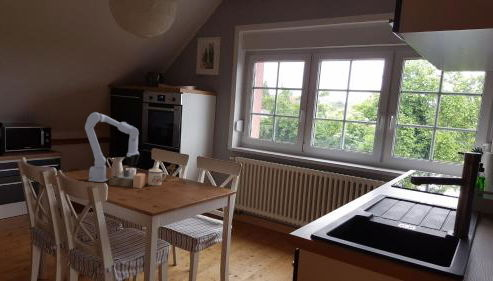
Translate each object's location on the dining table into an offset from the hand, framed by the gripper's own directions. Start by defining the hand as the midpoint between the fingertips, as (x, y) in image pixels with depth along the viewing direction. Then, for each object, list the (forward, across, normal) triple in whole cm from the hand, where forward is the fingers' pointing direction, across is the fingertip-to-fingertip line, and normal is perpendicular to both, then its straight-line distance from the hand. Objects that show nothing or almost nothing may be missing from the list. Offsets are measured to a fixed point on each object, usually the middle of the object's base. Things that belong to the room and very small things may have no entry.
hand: (132, 166), depth 230 cm
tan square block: (+10, -13, -10) cm, 19 cm away
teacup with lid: (+10, -2, -18) cm, 21 cm away
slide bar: (+7, -13, -4) cm, 15 cm away
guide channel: (+10, -13, 0) cm, 16 cm away
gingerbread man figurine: (+10, +12, -24) cm, 29 cm away
